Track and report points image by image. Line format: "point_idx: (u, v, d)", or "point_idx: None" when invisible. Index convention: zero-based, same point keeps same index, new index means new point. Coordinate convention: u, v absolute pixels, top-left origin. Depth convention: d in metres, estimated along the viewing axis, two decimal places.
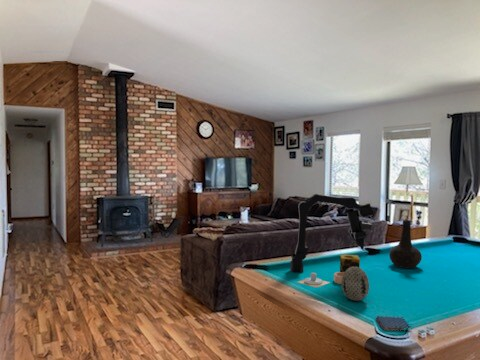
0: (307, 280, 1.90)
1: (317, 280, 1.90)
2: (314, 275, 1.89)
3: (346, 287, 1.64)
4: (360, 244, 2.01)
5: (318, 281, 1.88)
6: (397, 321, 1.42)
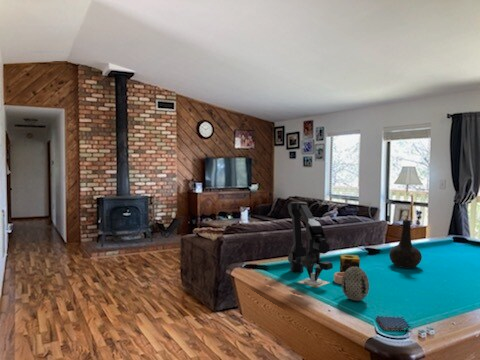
0: (307, 280, 1.90)
1: (317, 280, 1.90)
2: (314, 275, 1.89)
3: (346, 287, 1.64)
4: None
5: (318, 281, 1.88)
6: (397, 321, 1.42)
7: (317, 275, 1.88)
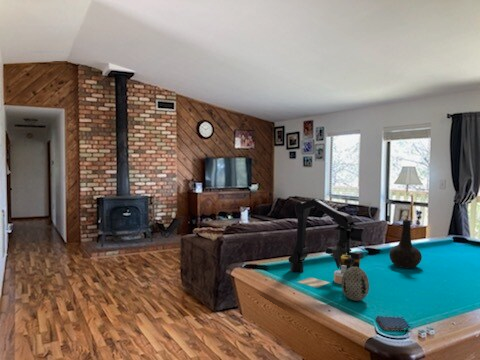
0: (337, 272, 1.91)
1: None
2: (344, 267, 1.90)
3: (346, 287, 1.64)
4: None
5: None
6: (397, 321, 1.42)
7: (350, 265, 1.88)
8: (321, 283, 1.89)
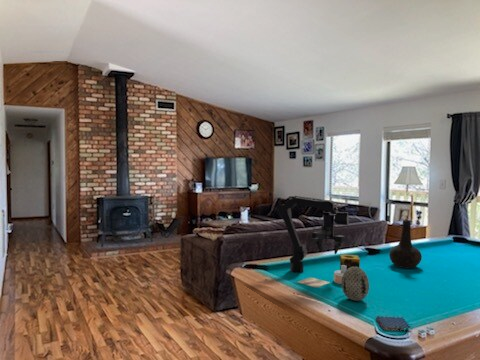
0: (337, 272, 1.91)
1: None
2: (344, 267, 1.90)
3: (346, 287, 1.64)
4: None
5: None
6: (397, 321, 1.42)
7: (336, 249, 1.98)
8: (321, 283, 1.89)
